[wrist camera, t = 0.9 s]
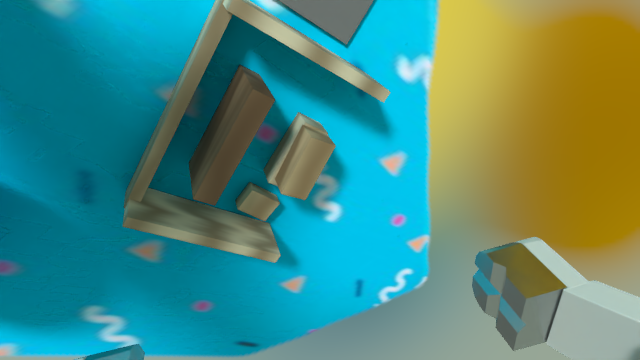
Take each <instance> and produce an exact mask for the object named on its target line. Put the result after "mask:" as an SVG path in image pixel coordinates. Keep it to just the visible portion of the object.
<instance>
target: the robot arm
mask: <svg viewBox="0 0 640 360" xmlns="http://www.w3.org/2000/svg"><path fill="white" fill-rule="evenodd" d="M475 264H476V266H477V267H478V268H479V270H478V271H477V272H476V273H475V275H474V276H473V283H472V287H473V291H474V295H475V298H476V300H477V302H478V304H479V305H480V307H481V308H482V310H483V311H484V312H485V313H486V314H488V315H490V316H492V317H494V318H496V328H497V330H498V331H499V332H500V334H501V335H502V337H503V338H504V339H505V341H506V342H507V343H508V345H509V346H510V347H511V348H512V350H513V351H514V350H518V349H522V348H526V347H529V346H533V345H536V344H540V343H544V342H546V344H547V345H549V346H550V347H552V348H554V349H555V350H557V351H559V352H560V353H562V354H563V355H565V356H567V357H568V358H570V359H572V360H640V297H637V296H634V295H632V294H629V293H627V292H624V291H621V290H619V289H616V288H613V287H611V286H608V285H606V284H603V283H600V282H598V281H595V280H594V281H591V282H589V281H588V280H586V279H585V278H584V277H583V276H582V275H581V274H579V272H577V271H576V270H575V269H574V268H573V267H572V266H571V265H569V264H568V263H567V262H566V261H565V260H564V259H563V258H562V257H561V256H559V255H558V254H557V253H556V252H555V251H554V250H553V249H551V248H550V247H549V246H548V245H547V244H546V243H545V242H544V241H542V240H541V239H539V238H537V237H533V238H529V239H525V240H521V241H517V242H513V243H509V244H505V245H502V246H498V247H495V248H491V249H488V250H484V251H481V252H479V253H478V254H477V255H476V259H475ZM144 354H145V353H144V351H143V350H142V348H141V347H140V345H139V344H135V345H131V346H126V347H122V348H118V349H114V350H110V351H106V352H101V353H97V354H93V355H89V356H86V357H82V358H78V359H74V360H144Z"/></svg>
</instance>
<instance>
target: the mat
mask: <svg viewBox="0 0 640 360" xmlns="http://www.w3.org/2000/svg"><path fill="white" fill-rule="evenodd" d="M279 1H280V2H282V3H283V4H285V5H287V6H288V7H290V8H291V9H293V10H294V11H296V12H297V13H299V14H300V15H302V16H303V17H305V18H306V19H308V20H310V21H311V22H313V23H314V24H316V25H317V26H319V27H320V28H322V29H323V30H325V31H326V32H328V33H329V34H331V35H333V36H334V37H336V38H337V39H339V40H340V41H342V42H343V43H345V44H346V45H347V43H348V41H349V40H350V38H351V37H352V35H353V33H354V32H355V30H356V28H357V27H358V25H359V23H360V22H361V20H362V18H363V17H364V15H365V13H366V12H367V10H368V8H369V7H370V5H371V4H372V2H373V0H279Z"/></svg>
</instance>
